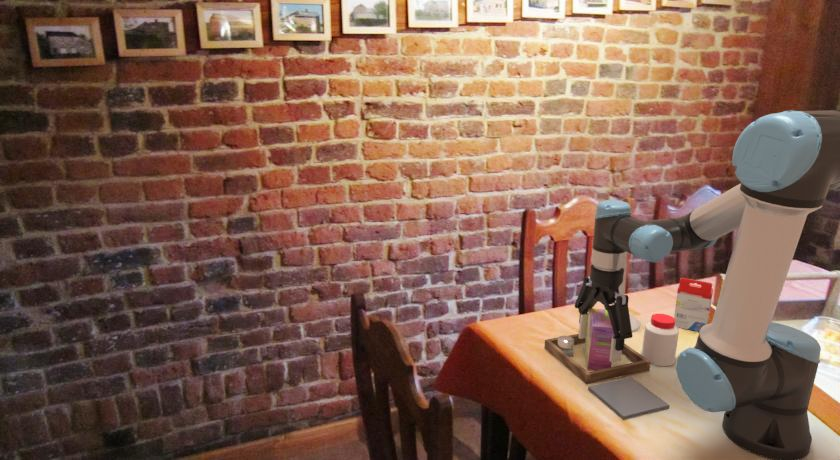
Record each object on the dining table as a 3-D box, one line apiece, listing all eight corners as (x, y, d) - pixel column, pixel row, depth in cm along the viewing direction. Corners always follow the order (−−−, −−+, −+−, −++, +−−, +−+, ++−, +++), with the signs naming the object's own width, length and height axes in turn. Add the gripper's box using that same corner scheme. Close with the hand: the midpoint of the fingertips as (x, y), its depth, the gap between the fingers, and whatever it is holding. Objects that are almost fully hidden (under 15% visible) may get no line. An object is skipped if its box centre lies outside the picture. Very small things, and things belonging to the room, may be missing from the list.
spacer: (576, 355, 145) (577, 341, 144) (562, 358, 144) (563, 344, 143) (567, 348, 149) (568, 334, 147) (553, 351, 147) (554, 337, 146)
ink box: (707, 327, 161) (716, 278, 156) (705, 334, 157) (713, 283, 152) (675, 319, 165) (682, 271, 161) (672, 326, 161) (679, 277, 157)
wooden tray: (649, 370, 138) (650, 361, 138) (586, 384, 132) (587, 374, 132) (602, 337, 155) (603, 329, 154) (544, 348, 149) (545, 339, 148)
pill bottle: (679, 357, 144) (685, 317, 141) (667, 369, 139) (673, 328, 136) (648, 347, 149) (653, 308, 146) (636, 358, 144) (641, 318, 141)
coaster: (669, 408, 123) (669, 405, 123) (623, 419, 120) (623, 416, 119) (631, 379, 134) (631, 376, 134) (588, 389, 130) (588, 386, 130)
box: (611, 372, 137) (617, 327, 134) (587, 370, 138) (591, 325, 135) (607, 351, 147) (611, 309, 144) (584, 349, 148) (588, 307, 145)
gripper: (656, 282, 126) (644, 370, 132) (589, 248, 147) (582, 325, 154) (628, 286, 123) (617, 375, 130) (564, 251, 145) (558, 329, 151)
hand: (598, 348), depth 142 cm, fingers closed on box, 12 cm apart
